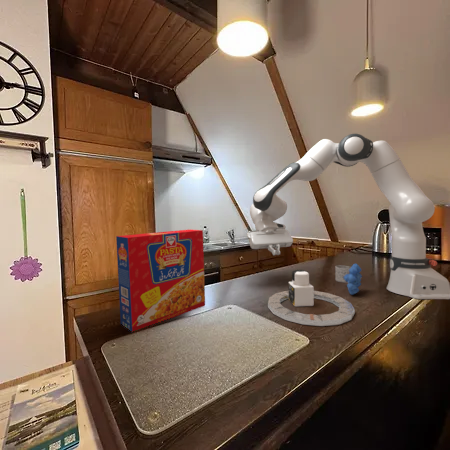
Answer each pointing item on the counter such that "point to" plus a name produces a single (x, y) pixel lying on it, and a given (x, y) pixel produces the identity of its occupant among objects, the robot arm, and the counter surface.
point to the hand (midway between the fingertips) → (276, 254)
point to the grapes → (353, 279)
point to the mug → (341, 272)
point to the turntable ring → (335, 318)
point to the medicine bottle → (301, 289)
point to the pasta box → (159, 276)
